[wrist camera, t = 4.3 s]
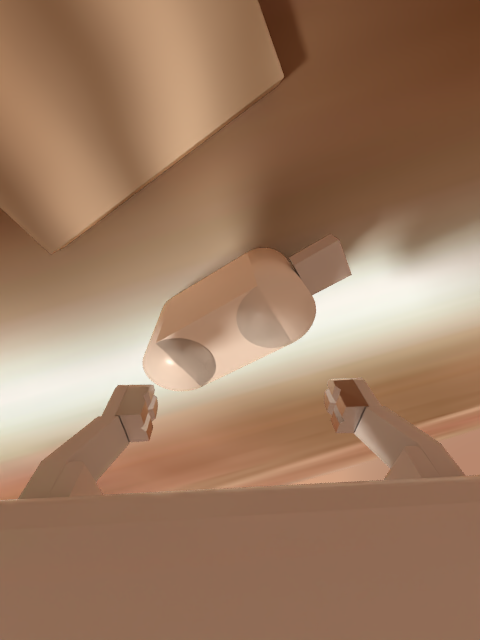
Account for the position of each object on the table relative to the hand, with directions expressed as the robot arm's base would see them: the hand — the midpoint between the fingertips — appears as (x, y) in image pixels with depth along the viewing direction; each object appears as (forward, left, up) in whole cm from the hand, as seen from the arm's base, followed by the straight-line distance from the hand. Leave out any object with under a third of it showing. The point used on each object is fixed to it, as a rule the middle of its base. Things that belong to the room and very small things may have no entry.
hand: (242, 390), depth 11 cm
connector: (0, +1, -7) cm, 8 cm away
